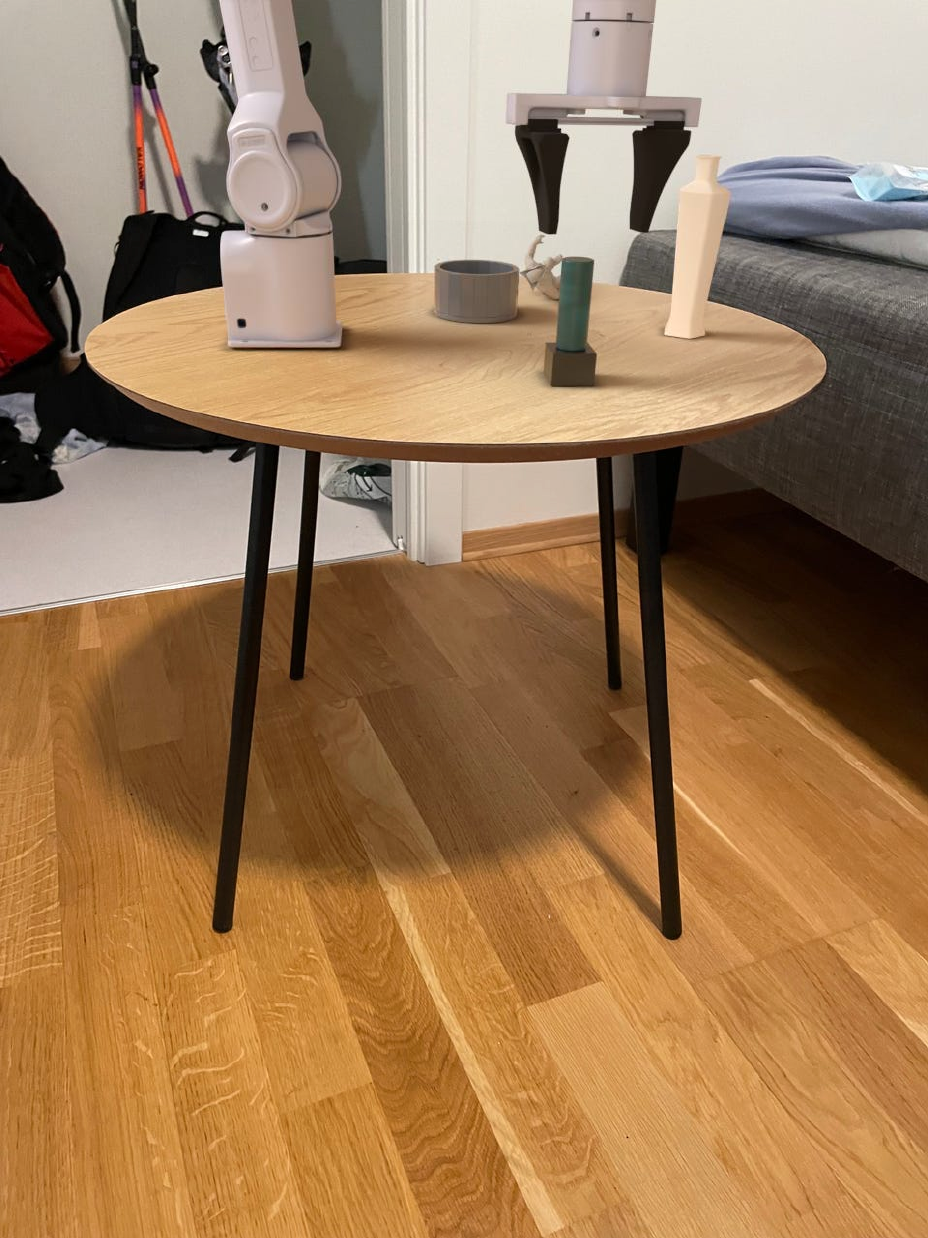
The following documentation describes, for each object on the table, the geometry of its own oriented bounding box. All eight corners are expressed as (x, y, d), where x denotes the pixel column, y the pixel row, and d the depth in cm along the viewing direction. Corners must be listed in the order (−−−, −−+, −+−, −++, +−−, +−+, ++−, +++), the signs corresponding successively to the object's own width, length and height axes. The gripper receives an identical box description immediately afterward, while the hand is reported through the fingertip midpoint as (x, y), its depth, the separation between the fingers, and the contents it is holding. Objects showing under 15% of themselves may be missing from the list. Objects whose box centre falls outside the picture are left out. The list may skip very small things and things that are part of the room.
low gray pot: (437, 322, 89) (437, 274, 87) (431, 304, 96) (432, 259, 94) (522, 323, 90) (524, 275, 87) (510, 304, 97) (512, 259, 94)
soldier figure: (593, 296, 106) (586, 280, 95) (559, 324, 107) (548, 312, 96) (551, 241, 106) (539, 218, 94) (517, 270, 107) (502, 251, 95)
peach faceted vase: (709, 341, 85) (738, 158, 78) (660, 337, 86) (684, 156, 78) (708, 329, 89) (735, 154, 82) (661, 326, 90) (684, 152, 82)
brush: (550, 386, 72) (559, 262, 67) (543, 373, 75) (551, 254, 70) (594, 385, 72) (605, 263, 68) (585, 373, 75) (595, 255, 70)
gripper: (534, 16, 60) (522, 241, 67) (733, 25, 64) (703, 237, 71) (500, 20, 66) (492, 227, 73) (684, 28, 70) (660, 224, 76)
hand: (593, 231), depth 72 cm, fingers open, 7 cm apart
